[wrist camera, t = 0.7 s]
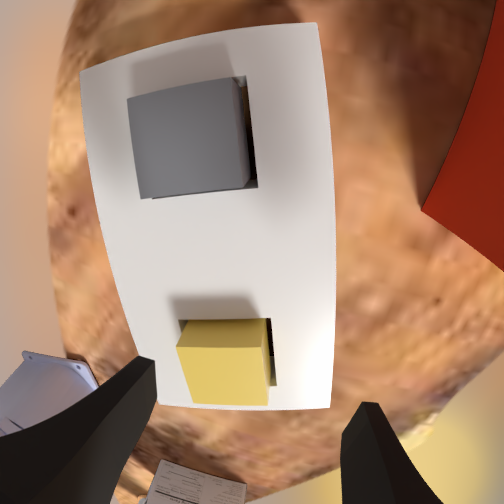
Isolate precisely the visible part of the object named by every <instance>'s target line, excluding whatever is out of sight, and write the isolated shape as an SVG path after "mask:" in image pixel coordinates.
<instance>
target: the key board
mask: <svg viewBox="0 0 504 504" xmlns="http://www.w3.org/2000/svg"><path fill="white" fill-rule="evenodd" d="M79 75H80V91H81V104H82V115H83V124H84V133H85V141H86V148H87V155H88V162H89V168H90V174H91V180H92V186H93V191H94V196H95V201H96V206H97V211H98V216H99V220H100V225H101V229H102V234H103V238H104V242H105V246H106V250H107V254H108V258H109V262H110V265H111V269H112V273H113V276H114V280H115V283H116V287H117V290H118V293H119V297H120V300H121V303H122V306H123V309H124V313H125V316H126V319H127V322H128V325H129V328H130V331H131V333H132V336H133V339H134V342H135V345H136V347H137V350H138V353H139V356H142V357H145V358H149V359H152V360H155V370H156V385H157V400H158V402H159V404H161V405H170V406H181V407H192V408H207V409H226V410H296V409H316V408H330V398H331V386H332V372H333V356H334V336H335V308H336V224H335V195H334V175H333V159H332V145H331V132H330V121H329V111H328V101H327V92H326V83H325V75H324V67H323V60H322V53H321V46H320V39H319V33H318V27H317V23H290V24H276V25H265V26H255V27H247V28H239V29H232V30H226V31H220V32H214V33H208V34H203V35H198V36H193V37H189V38H184V39H180V40H175V41H171V42H167V43H163V44H160V45H156V46H152V47H149V48H145V49H142V50H139V51H135V52H132V53H129V54H126V55H123V56H120V57H117V58H114V59H111V60H108V61H105V62H103V63H100V64H97V65H95V66H92V67H90V68H87V69H85V70H82V71H80V72H79ZM227 77H231V78H232V79H233V80H234V81H235V82H236V83H237V84H238V85H239V86H240V87H242V86H248V95H249V104H250V113H251V122H252V131H253V141H254V150H255V159H256V169H257V179H254V180H248V182H247V183H246V184H245V186H244V187H243V188H233V189H223V190H213V191H204V192H195V193H187V194H178V195H170V196H162V197H155V198H148V199H140V193H139V187H138V181H137V175H136V169H135V162H134V155H133V148H132V141H131V133H130V125H129V116H128V107H127V99H128V98H131V97H135V96H139V95H143V94H147V93H151V92H155V91H159V90H163V89H168V88H172V87H177V86H182V85H186V84H192V83H197V82H202V81H208V80H214V79H221V78H227ZM252 318H271V324H272V335H273V346H274V356H269V357H270V367H271V376H270V388H269V399H268V406H241V405H213V404H197V403H193V400H192V397H191V394H190V391H189V388H188V385H187V382H186V379H185V376H184V373H183V370H182V367H181V363H180V360H179V357H178V354H177V350H176V345H177V343H178V341H179V339H180V336H181V334H182V332H183V330H184V328H185V326H186V324H187V322H188V320H189V319H252Z"/></svg>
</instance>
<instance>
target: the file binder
mask: <svg viewBox="0 0 504 504" xmlns="http://www.w3.org/2000/svg"><path fill="white" fill-rule="evenodd" d="M421 211H422V212H424V213H425V214H427V215H428V216H430V217H431V218H433V219H434V220H435V221H437V222H438V223H440V224H441V225H443V226H444V227H446V228H447V229H448V230H450V231H451V232H453V233H454V234H455V235H457V236H458V237H460V238H461V239H462V240H464V241H465V242H466V243H468V244H469V245H470V246H472V247H473V248H474V249H476V250H477V251H478V252H480V253H481V254H482V255H483V256H485V257H486V258H487V259H489V260H490V261H491V262H492V263H494V264H495V265H496V266H497V267H498V268H500V269H501V270H502V271H503V272H504V0H497V2H496V7H495V12H494V16H493V21H492V25H491V29H490V33H489V37H488V41H487V45H486V48H485V52H484V55H483V59H482V62H481V66H480V69H479V72H478V75H477V78H476V81H475V84H474V87H473V90H472V93H471V96H470V99H469V102H468V105H467V107H466V110H465V113H464V115H463V118H462V121H461V123H460V126H459V128H458V131H457V133H456V136H455V138H454V140H453V143H452V145H451V148H450V150H449V152H448V155H447V157H446V159H445V161H444V164H443V166H442V168H441V170H440V172H439V175H438V177H437V179H436V181H435V183H434V185H433V187H432V189H431V191H430V193H429V195H428V198H427V200H426V202H425V204H424V205H423V207H422V209H421Z"/></svg>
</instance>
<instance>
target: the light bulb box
mask: <svg viewBox="0 0 504 504" xmlns="http://www.w3.org/2000/svg"><path fill="white" fill-rule="evenodd" d="M246 491H247V484H243V483H239V482H235V481H230V480H227V479H223V478H219V477H216V476H212V475H209V474H205V473H202V472H199V471H195V470H192V469H189V468H186V467H183V466H180V465H177V464H174V463H171V462H169V461H166V460H163V459H161V461H160V463H159V466H158V468H157V471H156V473H155V476H154V478H153V480H152V483H151V485H150V488H149V491H148V494H147V497H146V500H145V503H144V504H245V498H246Z"/></svg>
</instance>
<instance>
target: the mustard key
mask: <svg viewBox="0 0 504 504" xmlns="http://www.w3.org/2000/svg"><path fill="white" fill-rule="evenodd" d="M176 350H177V354H178V357H179V360H180V363H181V367H182V370H183V373H184V376H185V379H186V382H187V385H188V388H189V391H190V394H191V397H192V400H193V403H197V404H213V405H241V406H268V399H269V388H270V376H271V367H270V357H269V346H268V336H267V326H266V318H252V319H189V320H188V322H187V324H186V326H185V328H184V330H183V332H182V334H181V336H180V339H179V341H178V343H177V345H176Z"/></svg>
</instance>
